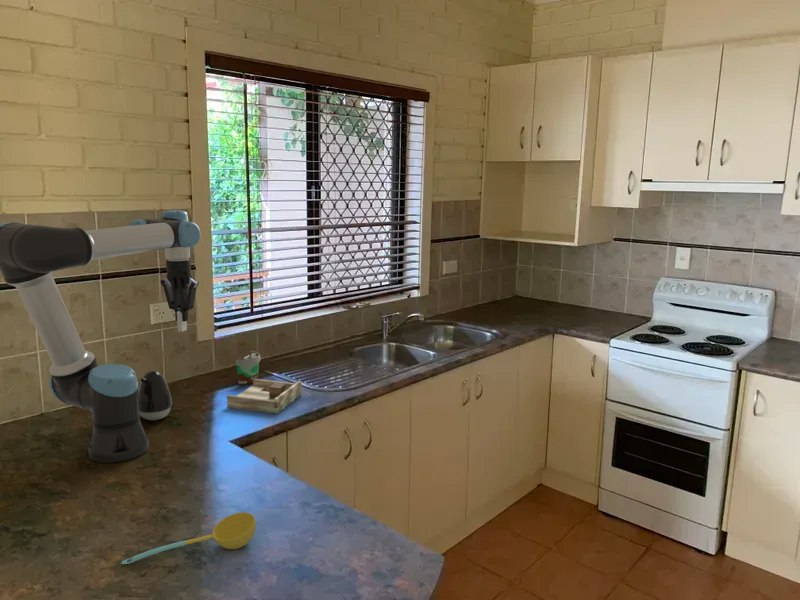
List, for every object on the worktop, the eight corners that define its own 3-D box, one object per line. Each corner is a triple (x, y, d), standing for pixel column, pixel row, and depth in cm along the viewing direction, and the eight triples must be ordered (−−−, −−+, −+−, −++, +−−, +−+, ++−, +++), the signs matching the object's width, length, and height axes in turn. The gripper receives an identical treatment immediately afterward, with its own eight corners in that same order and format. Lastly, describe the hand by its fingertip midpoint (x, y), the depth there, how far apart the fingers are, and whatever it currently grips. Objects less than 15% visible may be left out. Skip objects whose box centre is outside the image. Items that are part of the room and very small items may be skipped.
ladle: (263, 548, 126) (255, 525, 124) (128, 600, 119) (118, 576, 118) (258, 523, 134) (251, 501, 133) (131, 570, 127) (122, 548, 126)
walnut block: (280, 399, 204) (279, 388, 204) (269, 398, 205) (268, 386, 205) (285, 395, 208) (285, 384, 207) (274, 394, 209) (274, 382, 208)
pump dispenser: (130, 422, 190) (126, 374, 187) (151, 409, 200) (147, 364, 197) (159, 425, 188) (156, 377, 184) (179, 412, 197) (176, 367, 194)
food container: (252, 388, 221) (251, 361, 219) (236, 386, 222) (235, 360, 220) (266, 377, 232) (266, 351, 230) (251, 375, 234) (250, 350, 232)
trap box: (277, 414, 197) (276, 399, 196) (227, 407, 202) (226, 393, 201) (301, 395, 214) (301, 381, 213) (254, 389, 219) (254, 376, 218)
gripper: (202, 258, 200) (206, 329, 204) (168, 256, 203) (172, 326, 208) (188, 261, 192) (193, 335, 197) (153, 259, 196) (158, 331, 201)
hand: (182, 330), depth 203 cm, fingers closed
